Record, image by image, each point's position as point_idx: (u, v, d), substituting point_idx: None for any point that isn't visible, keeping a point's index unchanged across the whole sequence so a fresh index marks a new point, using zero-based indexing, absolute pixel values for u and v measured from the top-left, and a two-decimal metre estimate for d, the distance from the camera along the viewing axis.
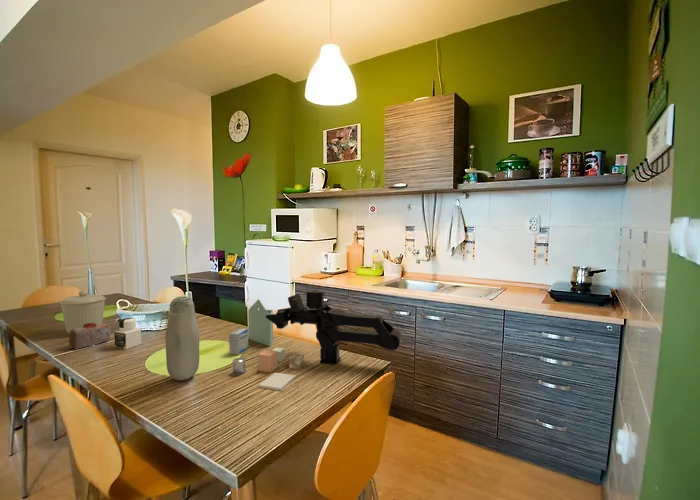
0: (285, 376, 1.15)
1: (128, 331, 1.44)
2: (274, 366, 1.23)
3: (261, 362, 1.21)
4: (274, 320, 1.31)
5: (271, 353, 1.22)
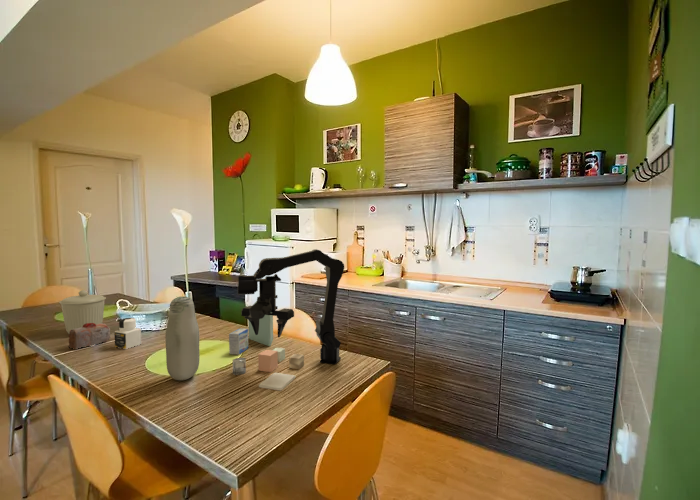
0: (285, 376, 1.15)
1: (128, 331, 1.44)
2: (274, 366, 1.23)
3: (261, 362, 1.21)
4: (283, 324, 1.22)
5: (271, 353, 1.22)
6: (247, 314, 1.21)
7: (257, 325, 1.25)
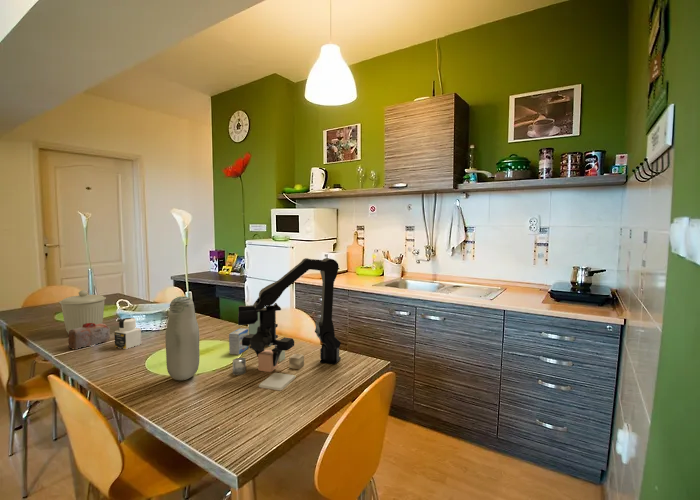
0: (285, 376, 1.15)
1: (128, 331, 1.44)
2: (274, 366, 1.23)
3: (261, 361, 1.21)
4: (279, 353, 1.23)
5: (271, 353, 1.22)
6: (247, 344, 1.22)
7: None
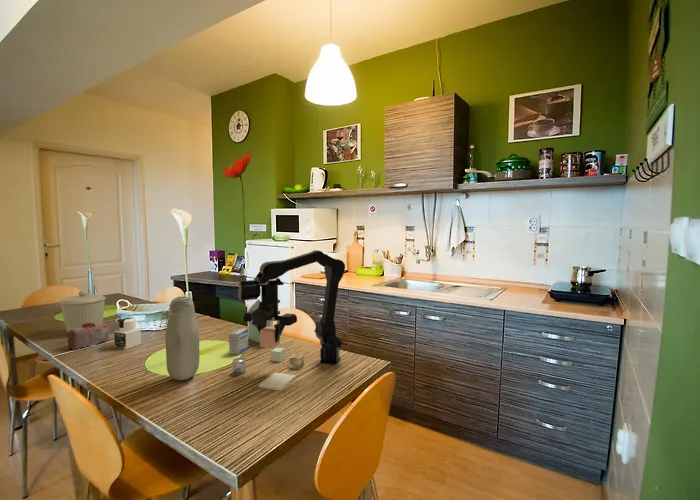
0: (285, 376, 1.15)
1: (128, 331, 1.44)
2: (277, 342, 1.20)
3: (263, 338, 1.18)
4: (281, 329, 1.19)
5: (273, 329, 1.19)
6: (249, 319, 1.19)
7: None
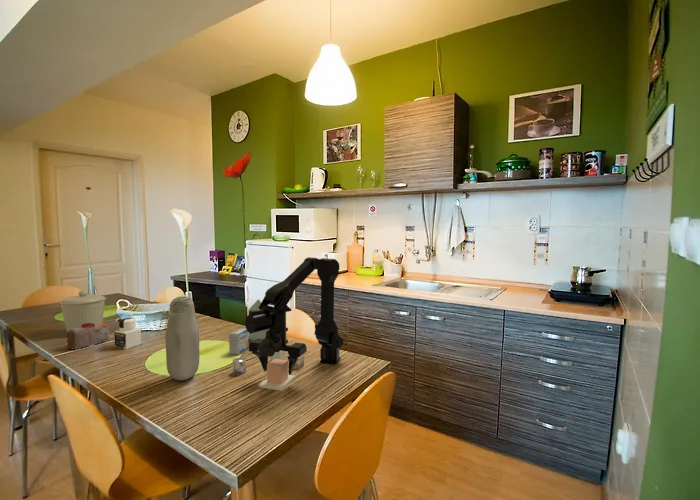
0: None
1: (128, 331, 1.44)
2: (285, 377, 1.12)
3: (270, 372, 1.10)
4: (295, 360, 1.11)
5: (281, 363, 1.11)
6: (255, 349, 1.11)
7: (266, 360, 1.14)
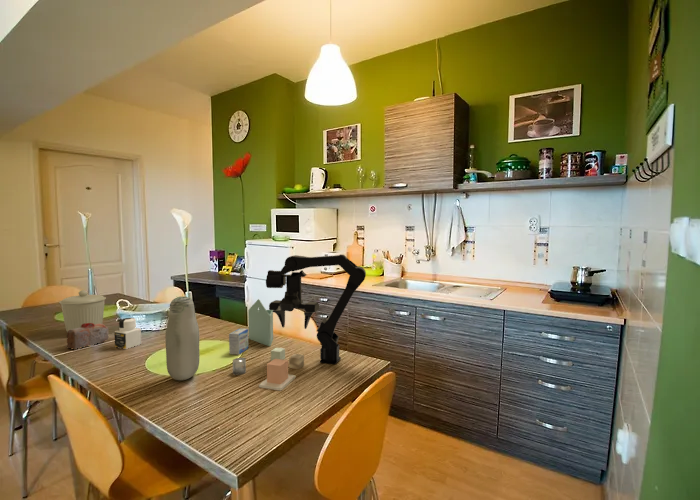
0: None
1: (128, 331, 1.44)
2: (285, 377, 1.12)
3: (270, 372, 1.10)
4: (309, 316, 1.31)
5: (281, 363, 1.11)
6: (275, 308, 1.30)
7: (283, 318, 1.33)
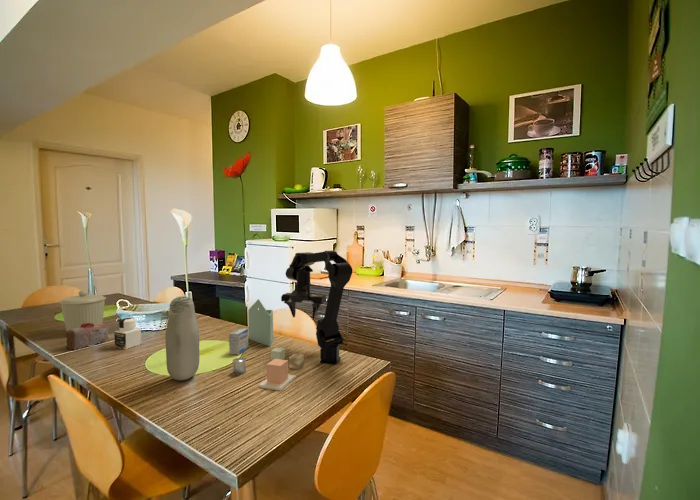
0: None
1: (128, 331, 1.44)
2: (285, 377, 1.12)
3: (270, 372, 1.10)
4: (317, 308, 1.44)
5: (281, 363, 1.11)
6: (286, 299, 1.43)
7: (294, 309, 1.47)
